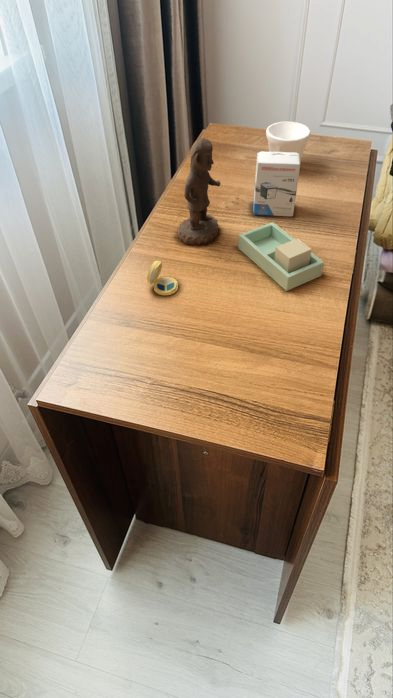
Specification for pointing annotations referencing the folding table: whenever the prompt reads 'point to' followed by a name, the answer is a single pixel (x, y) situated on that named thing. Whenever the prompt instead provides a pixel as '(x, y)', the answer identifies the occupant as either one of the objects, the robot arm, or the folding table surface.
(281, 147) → the cup
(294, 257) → the beige block
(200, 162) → the figurine
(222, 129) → the folding table surface
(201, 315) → the folding table surface
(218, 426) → the folding table surface
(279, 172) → the ink box
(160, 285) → the eyeshadow
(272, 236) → the pad tray
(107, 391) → the folding table surface
